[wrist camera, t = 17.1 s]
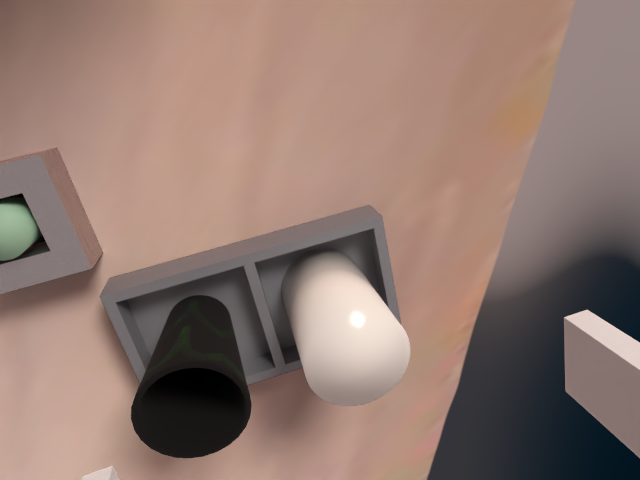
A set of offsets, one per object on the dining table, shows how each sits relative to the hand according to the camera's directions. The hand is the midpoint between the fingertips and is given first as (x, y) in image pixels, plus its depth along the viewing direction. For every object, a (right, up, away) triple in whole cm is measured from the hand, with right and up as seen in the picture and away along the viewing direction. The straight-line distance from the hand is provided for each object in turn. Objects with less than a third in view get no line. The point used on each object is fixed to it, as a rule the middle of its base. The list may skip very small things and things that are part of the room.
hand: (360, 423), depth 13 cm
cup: (-12, -2, +28) cm, 31 cm away
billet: (-1, +1, +30) cm, 30 cm away
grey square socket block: (-25, +7, +23) cm, 35 cm away
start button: (-25, +7, +22) cm, 34 cm away
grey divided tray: (-7, 0, +30) cm, 31 cm away
